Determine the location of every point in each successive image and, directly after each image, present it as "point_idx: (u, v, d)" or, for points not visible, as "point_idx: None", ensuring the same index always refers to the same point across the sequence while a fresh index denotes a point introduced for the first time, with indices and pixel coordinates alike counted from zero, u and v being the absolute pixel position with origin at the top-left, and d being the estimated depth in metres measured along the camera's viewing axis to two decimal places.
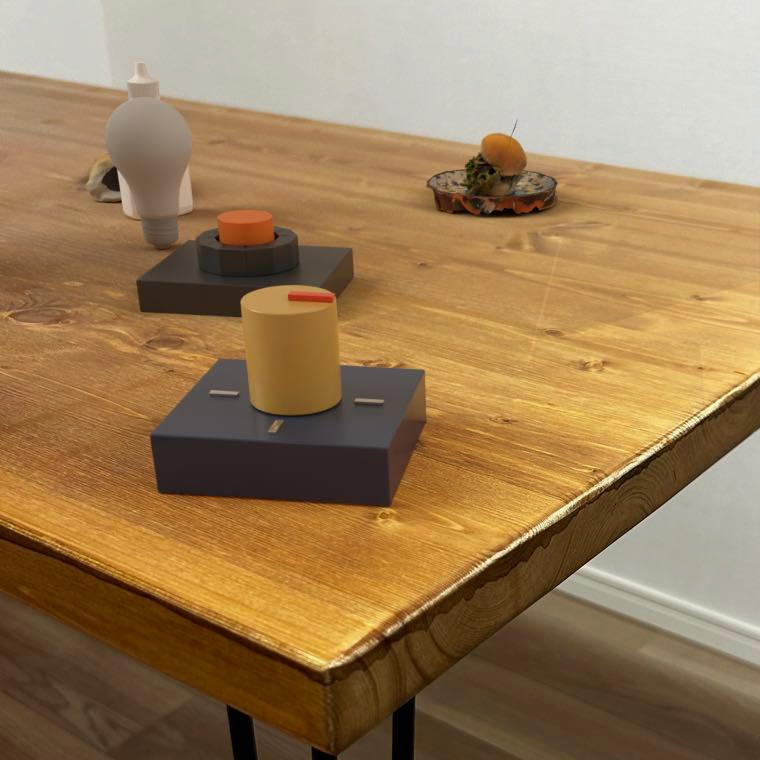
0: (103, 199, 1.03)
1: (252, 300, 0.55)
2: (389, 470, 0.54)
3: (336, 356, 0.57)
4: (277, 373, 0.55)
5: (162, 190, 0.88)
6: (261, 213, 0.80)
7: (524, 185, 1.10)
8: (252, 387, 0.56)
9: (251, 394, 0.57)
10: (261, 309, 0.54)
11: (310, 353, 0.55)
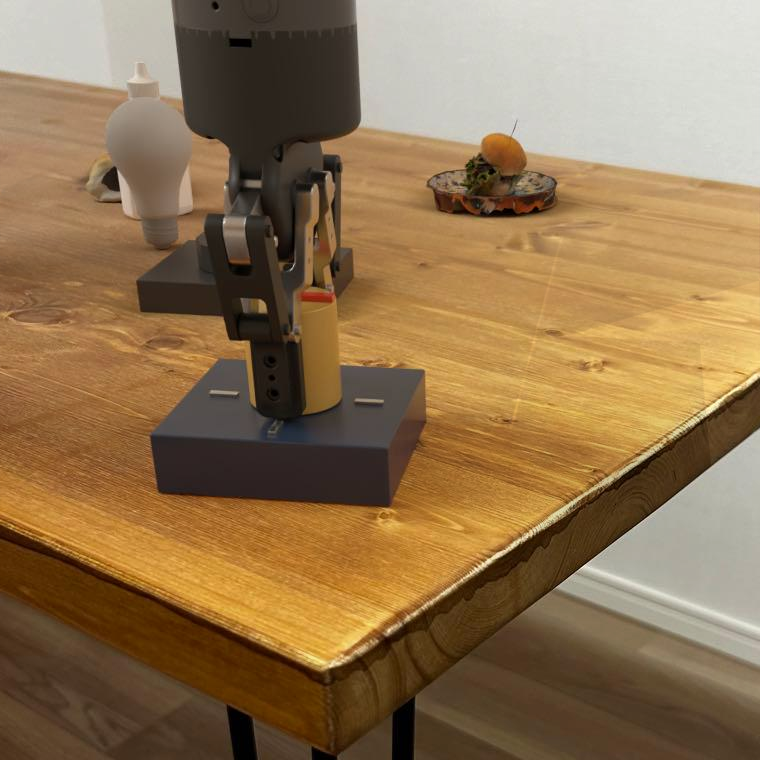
0: (103, 199, 1.03)
1: None
2: (389, 470, 0.54)
3: (336, 356, 0.57)
4: None
5: (162, 190, 0.88)
6: None
7: (524, 185, 1.10)
8: (252, 387, 0.56)
9: (251, 394, 0.57)
10: (261, 309, 0.54)
11: (310, 353, 0.55)
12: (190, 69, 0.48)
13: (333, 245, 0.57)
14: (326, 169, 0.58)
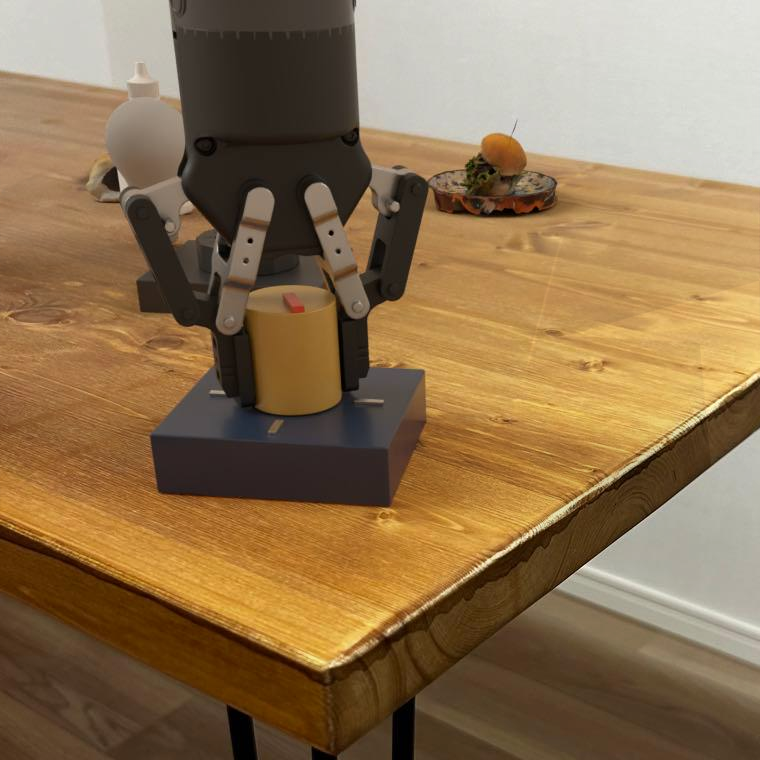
0: (103, 199, 1.03)
1: (269, 290, 0.57)
2: (389, 470, 0.54)
3: (297, 368, 0.55)
4: None
5: None
6: None
7: (524, 185, 1.10)
8: None
9: None
10: None
11: (260, 352, 0.55)
12: None
13: (343, 261, 0.54)
14: (400, 187, 0.55)
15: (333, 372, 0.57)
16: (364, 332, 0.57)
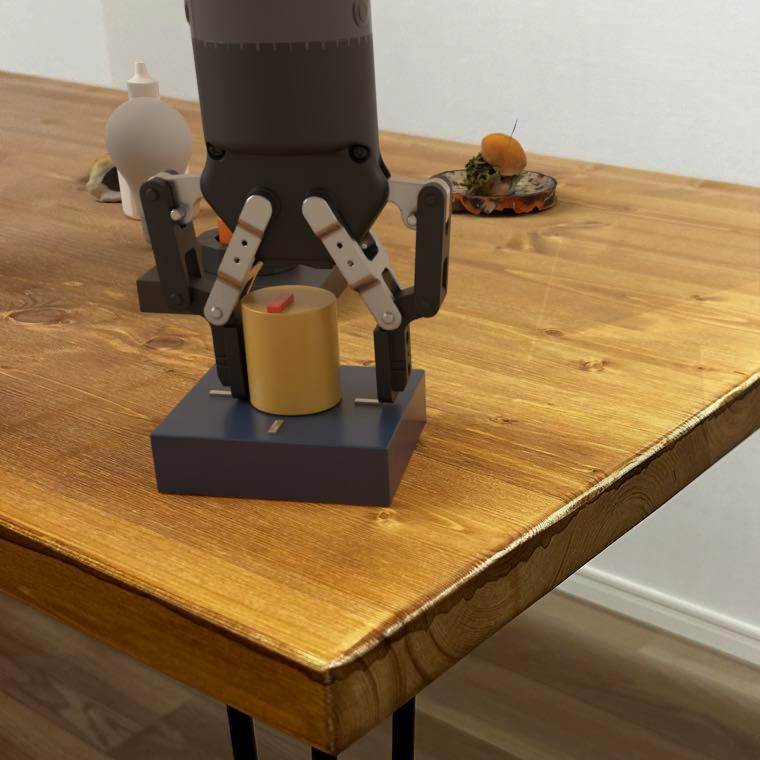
0: (103, 199, 1.03)
1: (287, 288, 0.57)
2: (389, 470, 0.54)
3: (272, 367, 0.55)
4: None
5: None
6: None
7: (524, 185, 1.10)
8: None
9: None
10: (257, 291, 0.57)
11: (246, 345, 0.56)
12: None
13: (357, 273, 0.53)
14: None
15: (315, 378, 0.56)
16: (401, 345, 0.56)
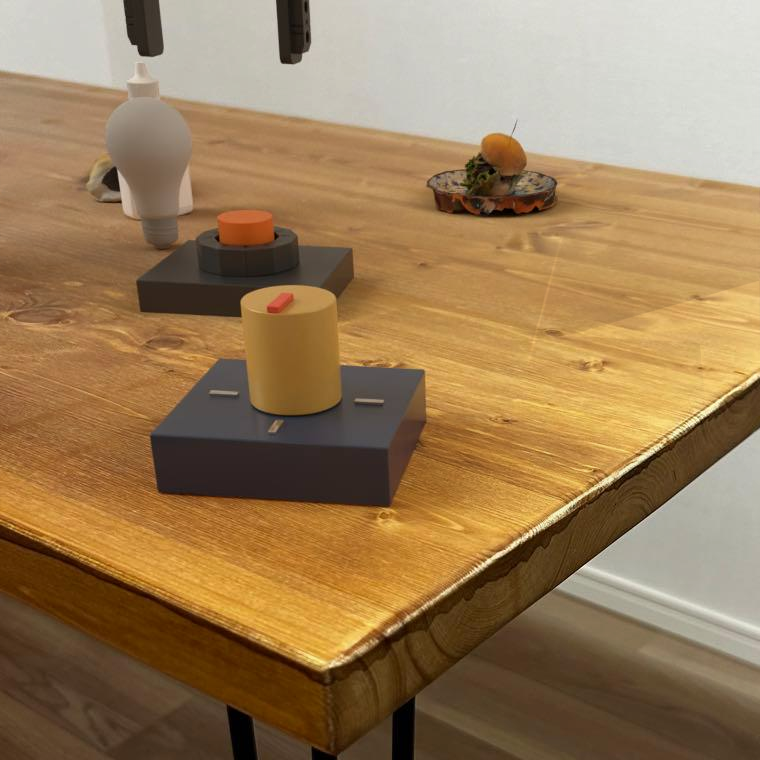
0: (103, 199, 1.03)
1: (287, 288, 0.57)
2: (389, 470, 0.54)
3: (272, 367, 0.55)
4: None
5: (162, 190, 0.88)
6: (261, 213, 0.80)
7: (524, 185, 1.10)
8: None
9: None
10: (257, 291, 0.57)
11: (246, 345, 0.56)
12: None
13: None
14: None
15: (315, 378, 0.56)
16: (299, 10, 0.68)
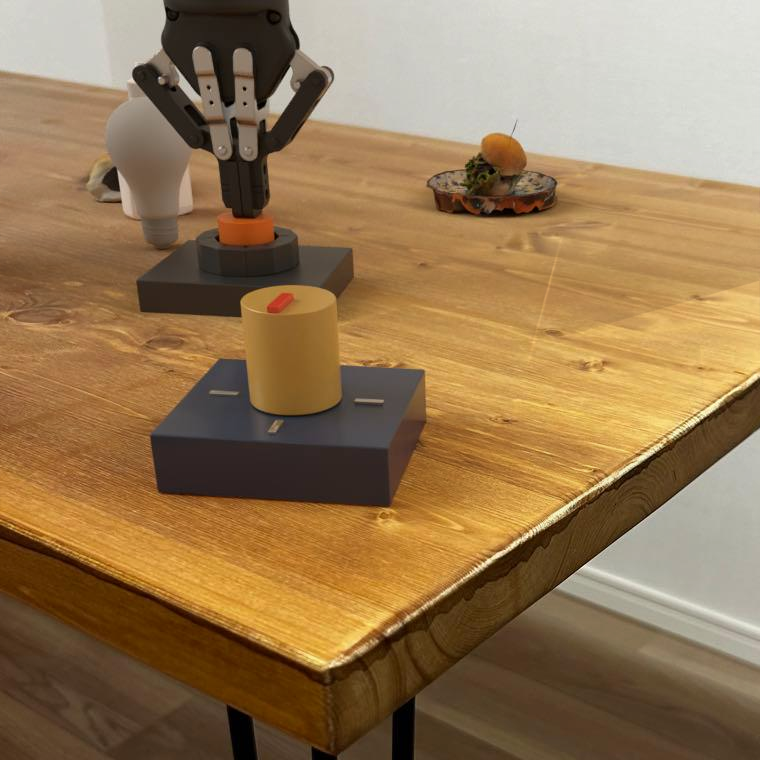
0: (104, 199, 1.03)
1: (287, 288, 0.57)
2: (389, 470, 0.54)
3: (272, 367, 0.55)
4: None
5: (162, 190, 0.88)
6: (261, 213, 0.80)
7: (524, 185, 1.10)
8: None
9: None
10: (257, 291, 0.57)
11: (246, 345, 0.56)
12: None
13: (245, 112, 0.75)
14: (308, 75, 0.74)
15: (315, 378, 0.56)
16: (259, 173, 0.78)
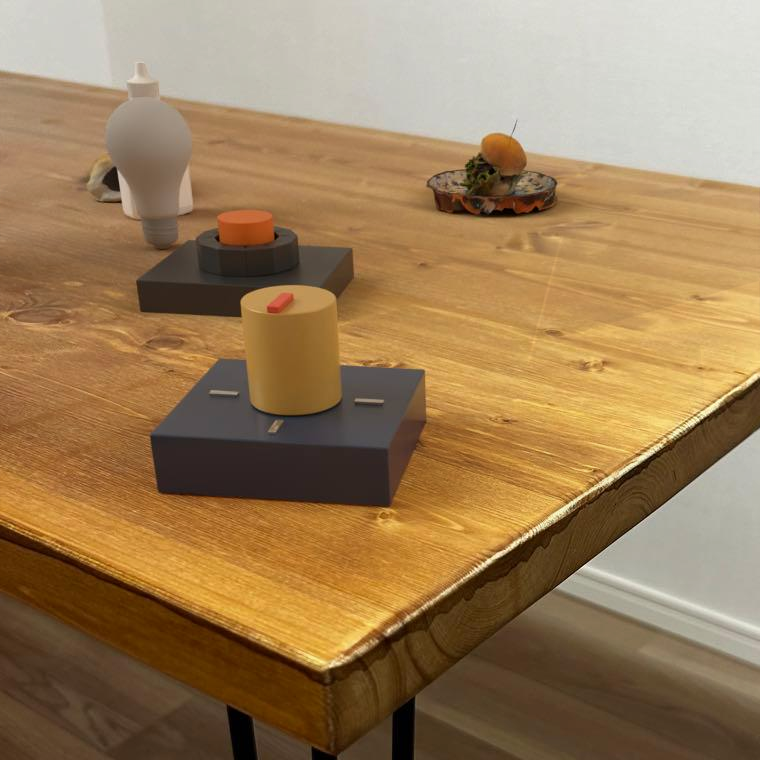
0: (104, 199, 1.03)
1: (287, 288, 0.57)
2: (389, 470, 0.54)
3: (272, 367, 0.55)
4: None
5: (162, 190, 0.88)
6: (261, 213, 0.80)
7: (524, 185, 1.10)
8: None
9: None
10: (257, 291, 0.57)
11: (246, 345, 0.56)
12: None
13: None
14: None
15: (315, 378, 0.56)
16: None
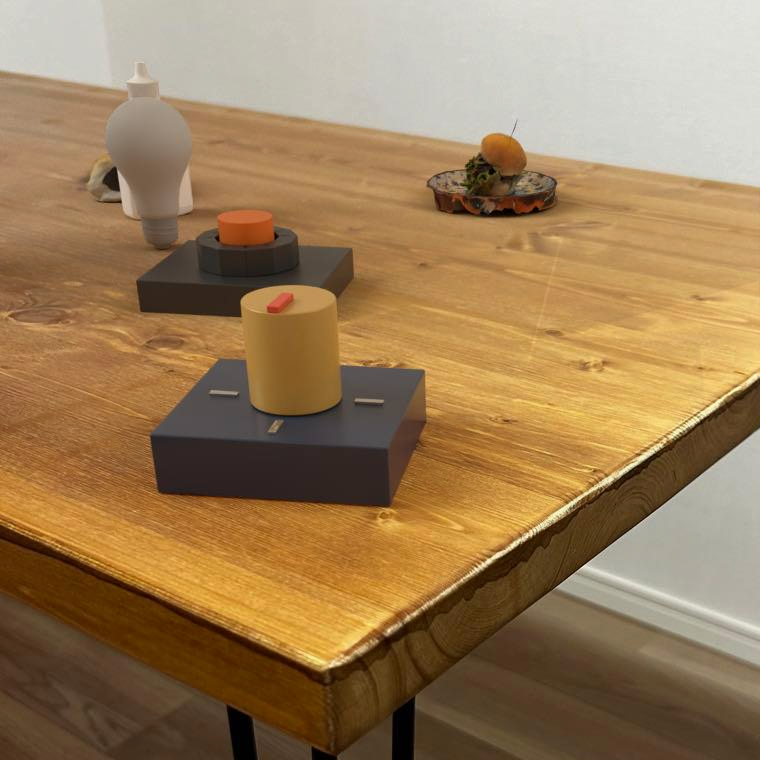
0: (104, 199, 1.03)
1: (287, 288, 0.57)
2: (389, 470, 0.54)
3: (272, 367, 0.55)
4: None
5: (162, 190, 0.88)
6: (261, 213, 0.80)
7: (524, 185, 1.10)
8: None
9: None
10: (257, 291, 0.57)
11: (246, 345, 0.56)
12: None
13: None
14: None
15: (315, 378, 0.56)
16: None
